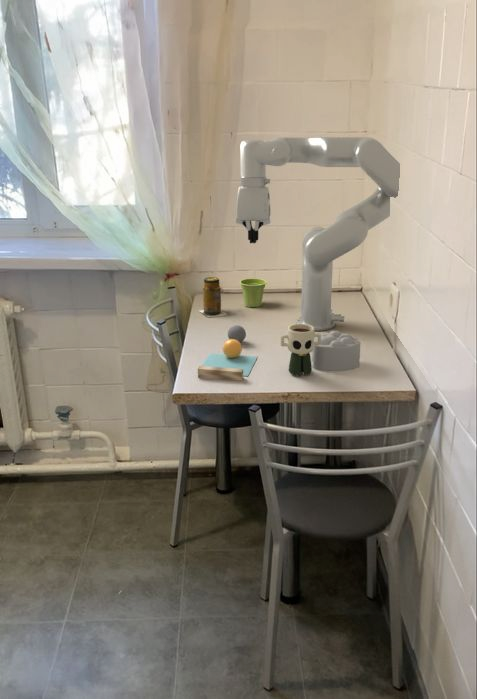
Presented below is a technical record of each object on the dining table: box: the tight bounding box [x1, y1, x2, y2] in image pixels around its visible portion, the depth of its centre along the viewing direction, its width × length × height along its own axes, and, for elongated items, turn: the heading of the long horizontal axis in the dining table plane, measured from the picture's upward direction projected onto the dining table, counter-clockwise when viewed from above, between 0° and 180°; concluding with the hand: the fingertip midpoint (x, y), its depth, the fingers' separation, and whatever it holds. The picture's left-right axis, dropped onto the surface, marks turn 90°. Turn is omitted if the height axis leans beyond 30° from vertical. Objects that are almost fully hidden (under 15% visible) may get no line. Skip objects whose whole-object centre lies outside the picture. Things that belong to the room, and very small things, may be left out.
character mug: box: [280, 323, 322, 376], centre depth 177 cm, size 11×7×13 cm, turn 94°
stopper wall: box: [197, 365, 244, 382], centre depth 177 cm, size 12×2×2 cm, turn 78°
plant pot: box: [239, 278, 267, 308], centre depth 234 cm, size 9×9×9 cm
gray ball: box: [227, 324, 247, 344], centre depth 200 cm, size 6×6×6 cm
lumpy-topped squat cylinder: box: [311, 330, 361, 373], centre depth 183 cm, size 10×13×9 cm
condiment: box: [198, 276, 228, 318], centre depth 226 cm, size 7×8×12 cm
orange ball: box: [222, 339, 243, 358], centre depth 189 cm, size 6×6×6 cm
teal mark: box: [196, 352, 258, 377], centre depth 185 cm, size 14×14×1 cm
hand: (253, 242), depth 207 cm, fingers closed
